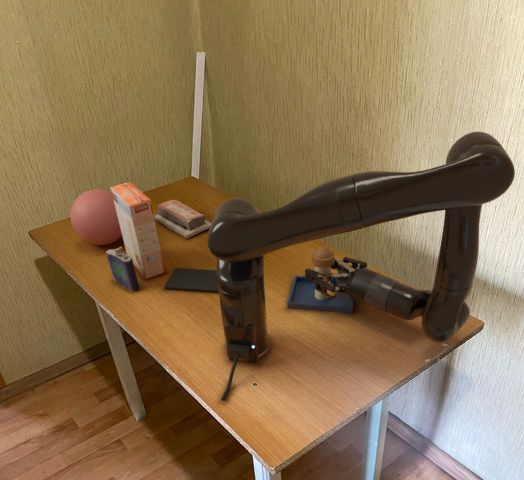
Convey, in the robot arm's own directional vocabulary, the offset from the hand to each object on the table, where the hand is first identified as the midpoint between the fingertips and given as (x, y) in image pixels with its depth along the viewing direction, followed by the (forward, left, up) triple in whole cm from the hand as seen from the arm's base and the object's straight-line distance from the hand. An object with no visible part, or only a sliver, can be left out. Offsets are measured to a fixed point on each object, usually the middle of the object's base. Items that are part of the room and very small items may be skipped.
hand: (314, 266), depth 125 cm
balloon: (+21, +63, -8) cm, 66 cm away
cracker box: (+8, +47, -8) cm, 48 cm away
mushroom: (-1, -2, -8) cm, 8 cm away
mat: (+2, +28, -8) cm, 29 cm away
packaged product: (+32, +44, -8) cm, 55 cm away
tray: (-1, -2, -8) cm, 8 cm away
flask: (-2, +49, -8) cm, 49 cm away
